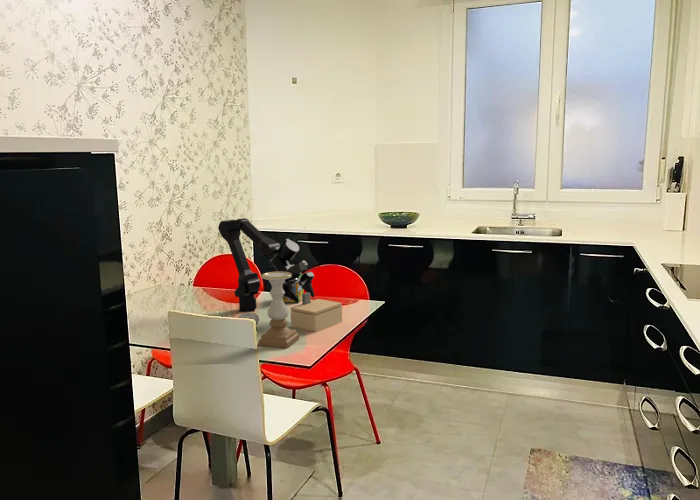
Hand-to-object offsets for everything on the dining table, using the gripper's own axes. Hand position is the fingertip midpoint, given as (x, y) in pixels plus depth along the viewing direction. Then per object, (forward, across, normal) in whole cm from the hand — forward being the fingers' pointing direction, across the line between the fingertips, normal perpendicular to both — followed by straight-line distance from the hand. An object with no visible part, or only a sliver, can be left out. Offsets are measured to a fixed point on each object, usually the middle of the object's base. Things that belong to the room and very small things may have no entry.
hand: (306, 299), depth 219 cm
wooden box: (+10, 0, +3) cm, 10 cm away
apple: (-1, -20, +14) cm, 25 cm away
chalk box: (-14, +22, +26) cm, 37 cm away
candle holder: (+12, -24, +1) cm, 27 cm away
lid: (+6, 0, -2) cm, 6 cm away
